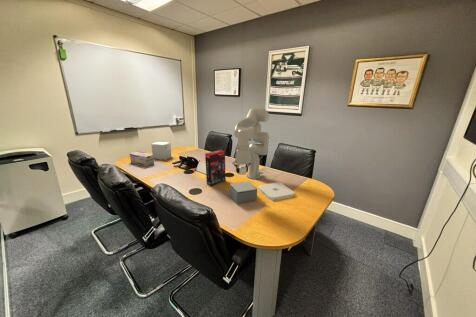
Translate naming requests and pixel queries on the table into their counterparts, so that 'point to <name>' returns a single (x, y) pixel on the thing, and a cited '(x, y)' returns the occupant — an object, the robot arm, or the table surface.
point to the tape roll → (242, 170)
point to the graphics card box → (215, 167)
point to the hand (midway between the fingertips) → (242, 172)
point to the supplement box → (161, 150)
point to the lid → (243, 187)
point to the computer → (276, 191)
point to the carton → (242, 195)
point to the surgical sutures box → (142, 158)
